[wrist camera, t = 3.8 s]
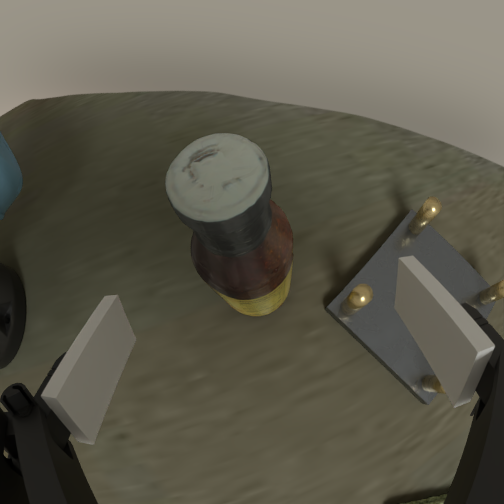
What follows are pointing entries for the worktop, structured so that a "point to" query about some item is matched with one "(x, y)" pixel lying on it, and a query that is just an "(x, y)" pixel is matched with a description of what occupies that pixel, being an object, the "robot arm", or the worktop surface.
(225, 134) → the sauce bottle
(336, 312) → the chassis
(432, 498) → the washcloth
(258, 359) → the worktop surface
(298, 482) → the worktop surface
